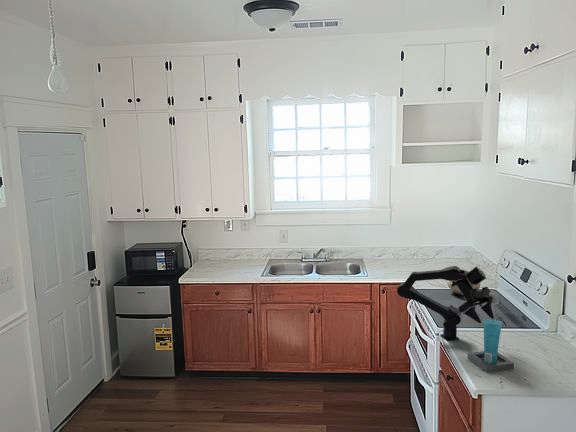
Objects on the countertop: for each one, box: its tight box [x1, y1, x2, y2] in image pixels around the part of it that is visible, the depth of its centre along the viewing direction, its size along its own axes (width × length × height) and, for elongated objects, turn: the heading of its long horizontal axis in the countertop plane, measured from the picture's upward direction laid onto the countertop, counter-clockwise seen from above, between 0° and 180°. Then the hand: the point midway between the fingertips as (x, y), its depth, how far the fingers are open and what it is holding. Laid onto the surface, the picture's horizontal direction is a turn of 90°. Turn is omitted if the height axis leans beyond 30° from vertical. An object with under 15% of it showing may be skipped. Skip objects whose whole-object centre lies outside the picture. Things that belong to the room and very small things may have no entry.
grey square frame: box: [467, 350, 515, 373], centre depth 204 cm, size 13×13×2 cm
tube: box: [482, 318, 503, 364], centre depth 203 cm, size 7×5×19 cm, turn 72°
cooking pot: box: [446, 270, 482, 296], centre depth 293 cm, size 25×19×12 cm
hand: (486, 320), depth 216 cm, fingers open, 9 cm apart
